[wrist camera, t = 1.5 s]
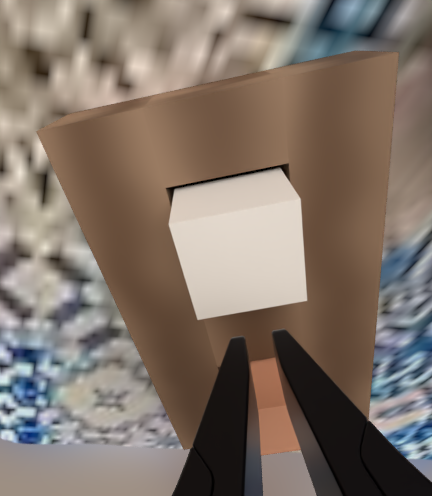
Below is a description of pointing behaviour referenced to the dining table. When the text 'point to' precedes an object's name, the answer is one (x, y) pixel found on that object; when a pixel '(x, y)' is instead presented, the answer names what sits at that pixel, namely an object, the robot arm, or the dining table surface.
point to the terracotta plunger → (272, 409)
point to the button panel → (228, 163)
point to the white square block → (240, 243)
